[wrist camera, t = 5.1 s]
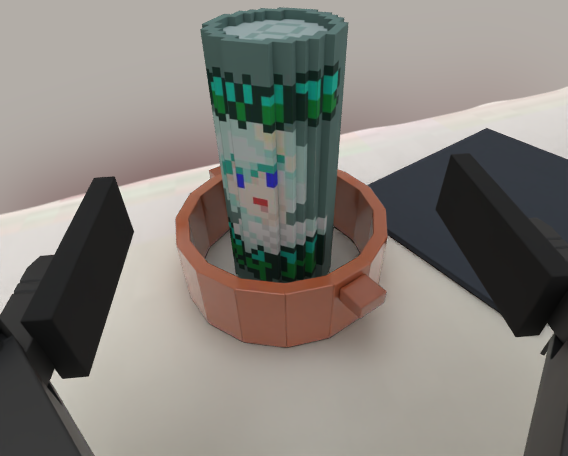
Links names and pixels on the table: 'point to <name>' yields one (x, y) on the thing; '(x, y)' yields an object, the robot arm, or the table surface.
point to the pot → (283, 296)
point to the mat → (504, 171)
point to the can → (278, 135)
